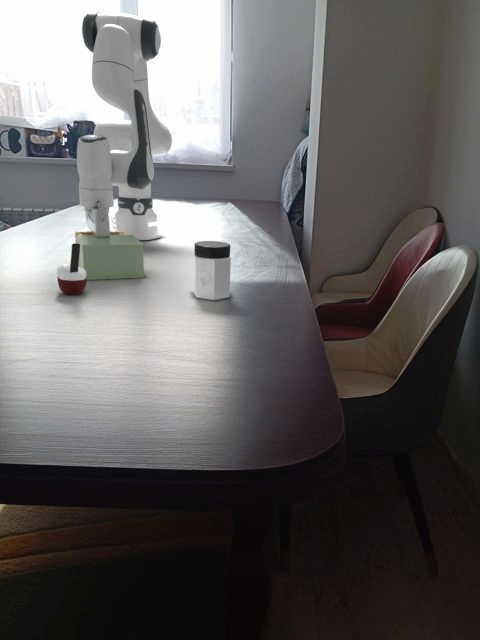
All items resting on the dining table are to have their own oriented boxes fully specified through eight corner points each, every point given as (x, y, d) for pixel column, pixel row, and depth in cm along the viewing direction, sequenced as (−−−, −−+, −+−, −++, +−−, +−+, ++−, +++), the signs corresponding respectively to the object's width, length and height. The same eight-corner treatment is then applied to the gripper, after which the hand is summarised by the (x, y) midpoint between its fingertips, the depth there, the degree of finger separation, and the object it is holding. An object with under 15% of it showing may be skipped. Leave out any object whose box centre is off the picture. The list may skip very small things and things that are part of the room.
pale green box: (78, 267, 139) (76, 235, 136) (133, 265, 145) (132, 234, 142) (84, 280, 127) (82, 245, 123) (144, 277, 132) (143, 244, 129)
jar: (186, 296, 118) (186, 244, 113) (201, 288, 125) (201, 239, 121) (222, 302, 116) (224, 248, 111) (235, 293, 123) (237, 243, 118)
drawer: (75, 252, 152) (73, 229, 150) (121, 251, 158) (120, 228, 155) (81, 265, 137) (79, 239, 135) (132, 263, 143) (131, 239, 140)
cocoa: (61, 287, 119) (56, 235, 115) (89, 287, 120) (86, 236, 116) (54, 299, 110) (49, 243, 106) (85, 299, 112) (81, 243, 107)
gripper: (114, 204, 132) (117, 257, 137) (103, 196, 149) (105, 243, 154) (88, 203, 129) (92, 258, 134) (80, 195, 147) (83, 244, 152)
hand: (99, 250), depth 144 cm, fingers open, 5 cm apart
